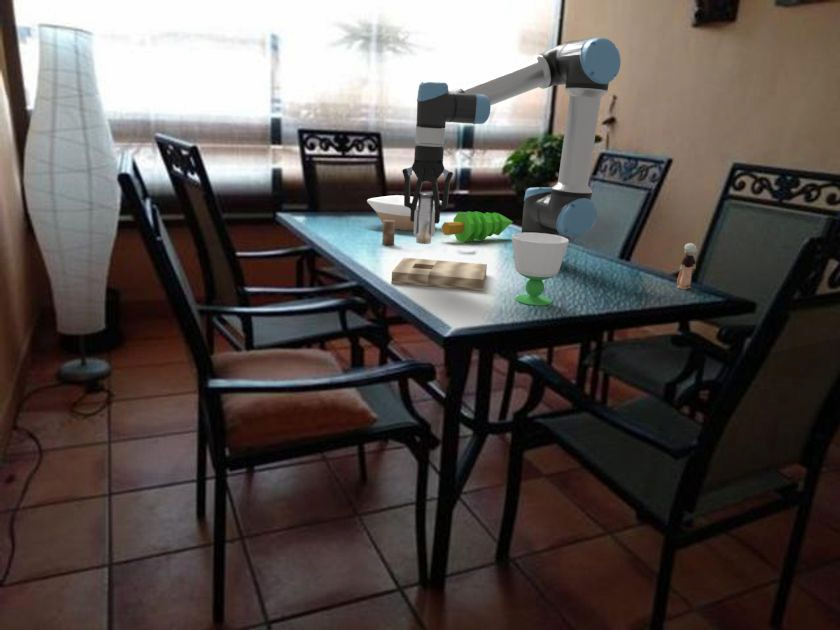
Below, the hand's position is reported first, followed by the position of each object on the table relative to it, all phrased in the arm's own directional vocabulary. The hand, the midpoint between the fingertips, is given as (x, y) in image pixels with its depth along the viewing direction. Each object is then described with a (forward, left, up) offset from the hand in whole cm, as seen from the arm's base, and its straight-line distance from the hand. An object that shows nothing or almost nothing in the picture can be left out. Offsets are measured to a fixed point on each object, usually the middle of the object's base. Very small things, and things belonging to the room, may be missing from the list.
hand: (424, 234), depth 171 cm
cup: (-30, +14, -12) cm, 35 cm away
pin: (0, 0, -2) cm, 2 cm away
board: (-5, 0, -12) cm, 13 cm away
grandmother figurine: (-72, -13, -12) cm, 74 cm away
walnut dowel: (+18, -41, -12) cm, 46 cm away
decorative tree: (-12, -61, -12) cm, 64 cm away
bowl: (+19, -77, -12) cm, 80 cm away
